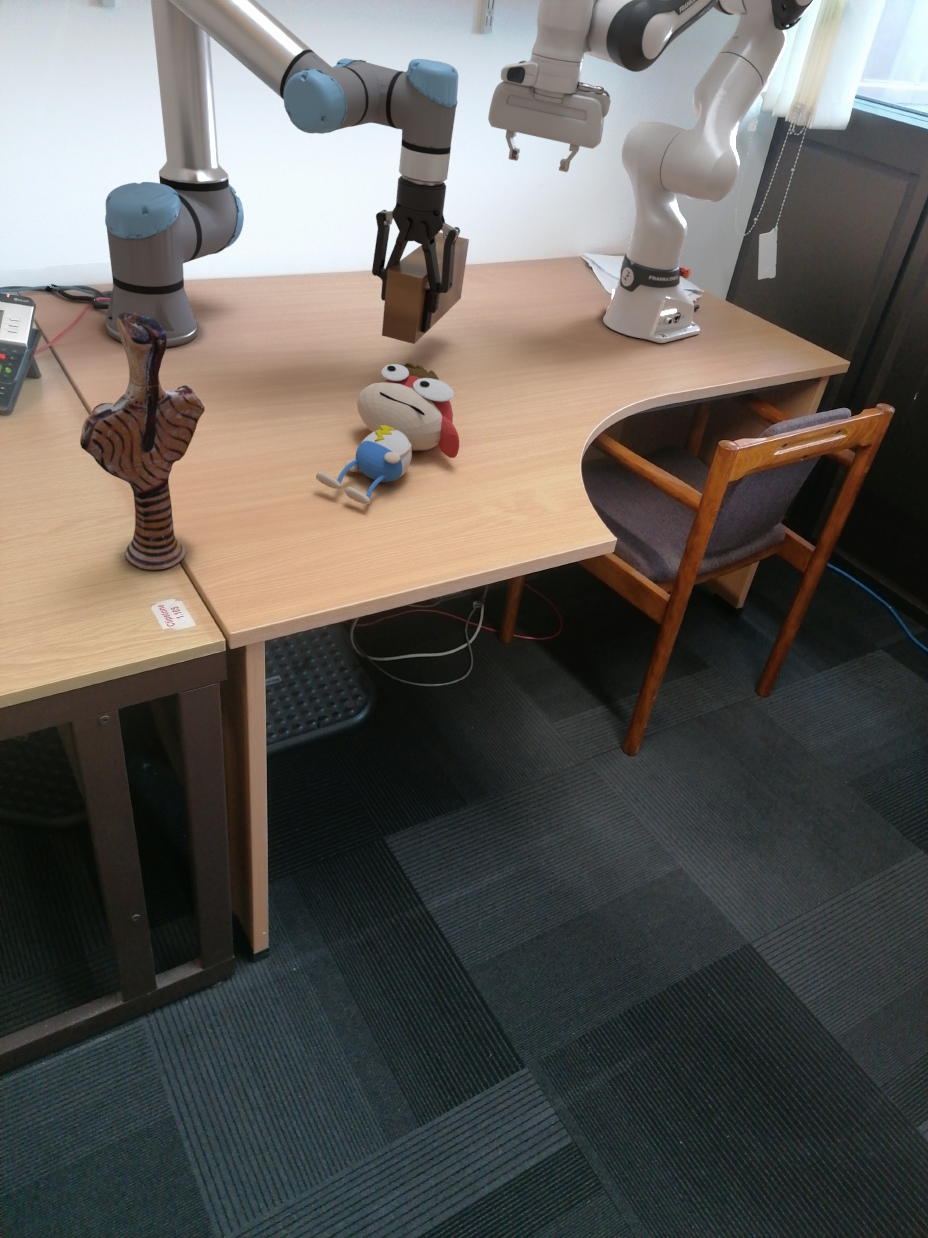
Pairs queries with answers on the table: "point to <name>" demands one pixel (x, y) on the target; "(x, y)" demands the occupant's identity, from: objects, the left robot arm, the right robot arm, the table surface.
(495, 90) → the right robot arm
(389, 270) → the box
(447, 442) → the toy
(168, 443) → the figurine
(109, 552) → the table surface
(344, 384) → the table surface
